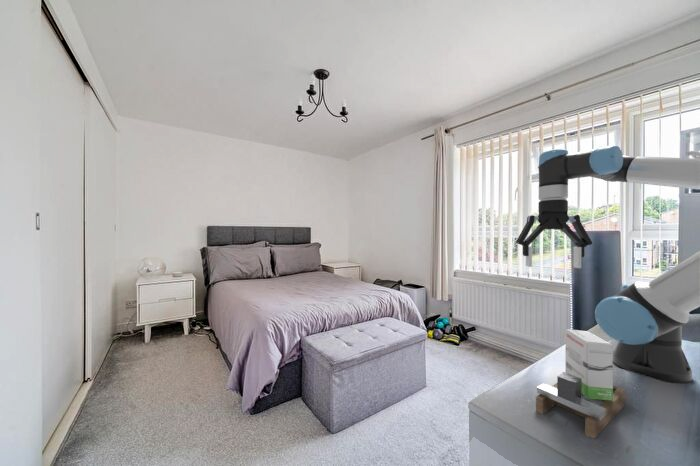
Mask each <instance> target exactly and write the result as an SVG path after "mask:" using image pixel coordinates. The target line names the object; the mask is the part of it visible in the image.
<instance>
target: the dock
mask: <svg viewBox="0 0 700 466" xmlns="http://www.w3.org/2000/svg"><path fill="white" fill-rule="evenodd" d="M551 386H552V387H554V388H556V389H557V382H556V383H555V384H553V385H551ZM626 392H627V391H626V389H624V388H621V387H618V386H615V385H613V401H610V400H603V401H602V402H601V404H599V406H601V407H603V408H606V415H605V416H604V417H603V418H602V419H601V421H600V420H598V419H595V418H593V417H591V416H589V415H586V414H584V413H582V412H579V411H577V410H575V409H573V408H570V407H568V406H566V405H563V404H561V403H559V402H557V401H554V400H552V399H550V398H548V397H545V396H543V395H541V394H538V395H537V396H535V412H537V413H539V414H541V415H544V414H545V413H547V411H549V410H550V409H552V408H553V407H554V406H558V407H560V408H561V409H564V410H567V411H569V412H571V413H574V414H575V415H578V416H579V417H583V418H585V420H584V421H585V422H584V423H585V424H584V428H585V429H584V432H585V433H584V434H585V436H587V437H590V438H592V439H595V438H596V437H597V436H598V435H599V434H600V433H601V432H602V431H603V429H605V427H607V425H608V424H609V423H610V422H611V421H612V419H613V418H614V417H615V416H616V415H617V414H618V413H619V412H620V411H621V410H622V409H623V407H624V406H625V405H626V404H627V403H626V402H627V401H626V400H627V399H626V398H627V397H626V396H627V393H626Z"/></svg>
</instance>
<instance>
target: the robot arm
mask: <svg viewBox="0 0 700 466" xmlns="http://www.w3.org/2000/svg"><path fill="white" fill-rule="evenodd" d="M537 168H538V200H540V201H539V202H538V215H537V216H536V215H534V214H533V215H528V216H527V217H526V223H525V225H524V226H523V229H522V230H521V232H520V233H519V236H518V237H517V239H516V241H515V242H516V244H518V245H521V246H522V256H523V257H525V267H529V268H533V247H532V246H531V244H532V243H533V241H534V240H535V239H537V238H538V237H539V235H540V234H541V233H542V232H544V231H545V230H560V231H561V232H563V233H564V234H565V235H566V237H567V238H569V239H570V240H571V241H572V243H574V245H576V246H573V248H572V249H573V251H572V252H573V255H572V256H573V258H572V259H573V260H572V261H573V265H572V266H573V267H572V268H576V269H582V258H584V257H585V248H586V247H587V246H591V245H592V244H593V242H592V240H591V238H590V236H589V234H588V233H587V231H586V229H585V228H584V226H583V224H582V221H581V216H580V215H579V214H573V215H569V214H568V212H569V202H568V200H567V199H568V197H569V180H575V179H579V178H581V179H582V178H588V177H589V178H594V179H598V180H603V181H605V182H613V183H614V182H615V183H616V182H619V183H620V182H621V183H632V184H640V185H642V184H643V185H650V186H651V185H653V186H663V187H670V188H679V189H689V190H690V189H691V190H692V189H693V190H697V191H699V190H700V158H691V157H689V158H688V157H686V158H685V157H663V156H662V157H661V156H641V155H640V156H635V155H623V151H622V149H621V148H620V146H618V145H614V144H613V145H607V146H599V147H596V148H591V149H588V150H583V151H579V152H578V151H577V152H573V153H569V151H568V150H567V149H564V148H558V149H557V148H555V149H549V150H546V151H543V152H542V153H540V155H539V157H538V166H537ZM536 222H538V223H539V224H538V225H537V226H536V228H535V229H534V230H533V231H532V232H531V233H530V231H531V229H532V228H533V225H534V224H535V223H536ZM568 222H570V223H571V225H572V227H573V229H574V230H575V232H576V233H575V232H574V231H573V230H572V228H571V227H570V225H569V224H567V223H568ZM529 233H530V235H529ZM528 235H529V236H528ZM698 308H700V250H699V251H697V252H696V253H694V254H693V255H691V256H689V257H688V258H687V259H684V260H682V261H681V262H680V263H678V264H676V265H675V266H673V267H671V268H669V269H668V270H667V271H665V272H664V273H662V274H661V275H658V276H657V277H655V278H654V279H652V280H651V281H649V282H646V281H636V282H634V283H632V284H631V285H629V284H624V285H621V287H620V291H619V292H618V293H616V294H615V295H612V296H608V297H605V298H603V299H602V300H601V301H600V302H598V304H597V305H596V307H595V310H594V318H595V321H596V323H597V325H598V327H599V328H600V329H601V331H602V332H604V334H606V335H607V336H608V337H610V338H611V339H613V340H614V341H617V343H616V346H615V348H614V350H612V363H613V364H615V365H616V366H618V367H620V368H621V369H624V370H626V371H628V372H630V373H635V374H638V375H642V376H643V377H647V378H651V379H654V380H659V381H662V382H671V383H681V384H682V383H683V384H685V383H690V382H692V380H693V371H692V369H691V366H690V364H689V361H688V359H687V356H686V355H685V353H684V350H683V346H682V341H683V339H682V337H683V336H682V334H683V327H682V326H683V325H685V324H686V323H689V314H690V312H692V311H694V310H696V309H698Z"/></svg>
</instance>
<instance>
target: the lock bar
mask: <svg viewBox="0 0 700 466" xmlns="http://www.w3.org/2000/svg"><path fill="white" fill-rule="evenodd" d="M556 378H557V380H556V383H557V389H556V388H554V387H552V386H553V385H549V384H546V383H541V384H540V385H538V386H536V393H537V394H538V395H540V394H541V395H543V396H545V397H548V398H550V399H552V400H554V401H557V402H559V403H561V404H563V405H566V406H568V407H570V408H573V409H575V410H577V411H579V412H582V413H584V414H586V415H589V416H591V417H593V418H595V419H598V420H600V421H601V419H602V418H603V417H604V416H605V415H606V408H603V407H601V406H600V405H599V404H596V403H593V402H591V401H589V400H586V399H583V398H582V393H581V378H578V377H576V376H573V375H570V374H567V373H565V372H562V373H560V374H558V375H557V377H556Z"/></svg>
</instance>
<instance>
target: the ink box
mask: <svg viewBox="0 0 700 466" xmlns="http://www.w3.org/2000/svg"><path fill="white" fill-rule="evenodd" d="M613 364H614V362H613V344H612V343H610V342H608V341H606V340H604V339H603V338H601V337H600V336H597V335H596V334H594V333H592V332H590V331H588V330H579V329H565V372H564V373H567V374H570V375H573V376H576V377H578V378H581V395H583V396H584V397H586V398H587V399H589V400H590V399H591V400H602V401H605V400H610V401H613V386H614V383H613V382H614V381H613V380H614V378H613V377H614V375H613V373H614V371H613V367H614V366H613Z"/></svg>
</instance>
